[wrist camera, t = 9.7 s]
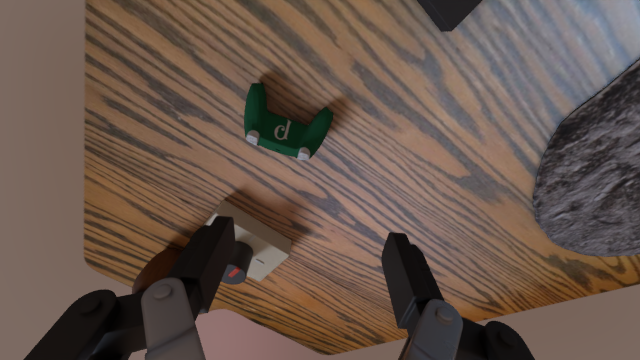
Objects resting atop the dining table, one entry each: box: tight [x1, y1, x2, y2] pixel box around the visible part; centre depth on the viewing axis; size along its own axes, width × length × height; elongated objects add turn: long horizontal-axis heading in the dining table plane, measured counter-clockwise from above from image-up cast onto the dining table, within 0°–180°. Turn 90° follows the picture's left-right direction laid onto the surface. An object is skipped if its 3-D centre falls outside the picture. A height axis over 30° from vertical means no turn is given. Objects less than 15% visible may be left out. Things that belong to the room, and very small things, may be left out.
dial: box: [221, 241, 253, 284], centre depth 33 cm, size 4×4×4 cm
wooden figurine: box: [132, 249, 182, 294], centre depth 33 cm, size 7×6×15 cm
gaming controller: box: [244, 83, 333, 160], centre depth 26 cm, size 9×4×6 cm
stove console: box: [203, 200, 292, 281], centre depth 36 cm, size 12×8×3 cm
